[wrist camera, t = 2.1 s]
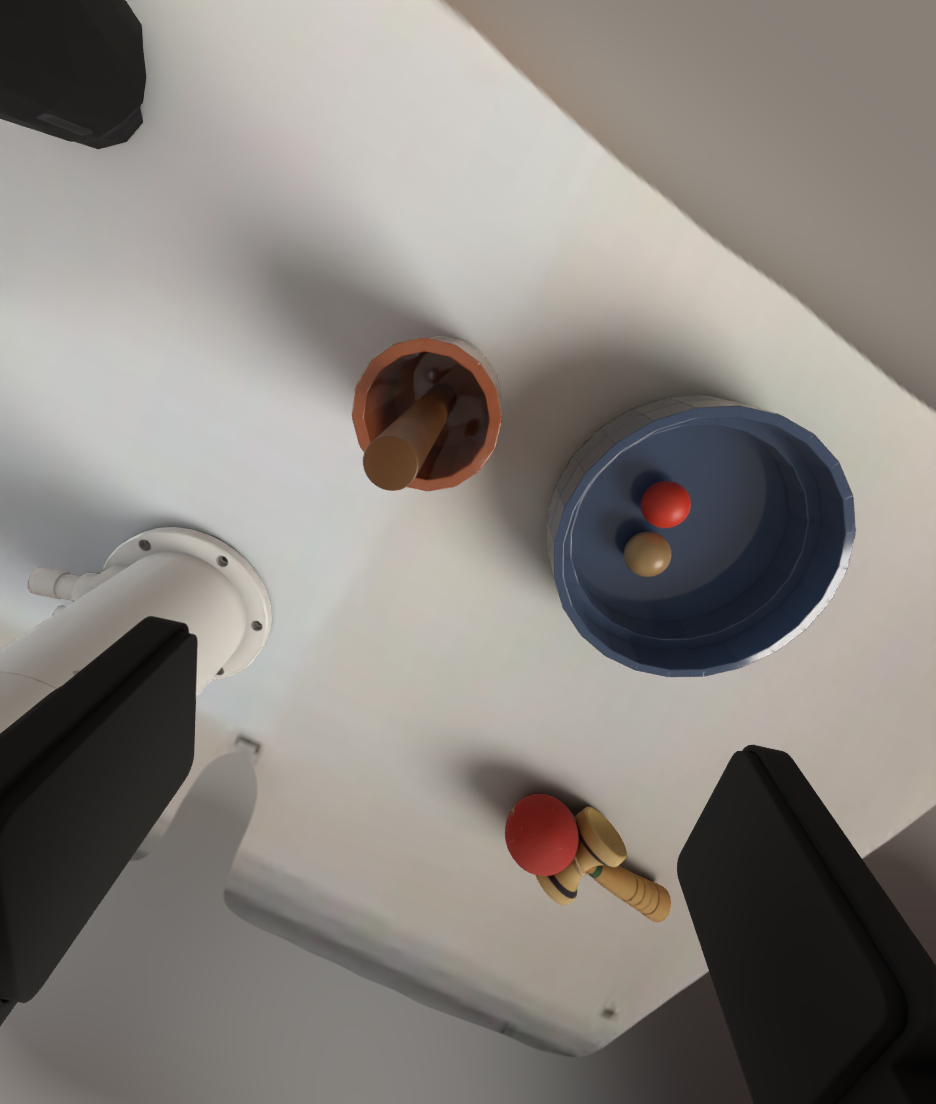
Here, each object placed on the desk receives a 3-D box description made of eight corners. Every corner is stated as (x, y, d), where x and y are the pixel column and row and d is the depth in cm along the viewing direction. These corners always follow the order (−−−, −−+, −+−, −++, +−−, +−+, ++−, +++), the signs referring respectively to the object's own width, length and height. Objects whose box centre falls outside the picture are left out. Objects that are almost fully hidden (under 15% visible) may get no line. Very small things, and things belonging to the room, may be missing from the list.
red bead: (629, 514, 36) (640, 529, 33) (644, 471, 35) (657, 483, 32) (672, 523, 36) (687, 539, 34) (688, 481, 35) (705, 494, 32)
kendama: (685, 848, 50) (549, 765, 44) (705, 926, 45) (555, 845, 39) (619, 874, 54) (485, 801, 48) (631, 949, 49) (482, 878, 42)
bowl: (519, 607, 40) (523, 647, 35) (586, 367, 33) (602, 374, 28) (742, 653, 41) (778, 700, 35) (851, 427, 34) (913, 444, 29)
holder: (379, 440, 36) (344, 473, 27) (396, 325, 33) (362, 323, 25) (485, 463, 36) (482, 503, 28) (511, 350, 33) (516, 357, 25)
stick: (425, 409, 34) (359, 484, 18) (430, 380, 34) (366, 430, 17) (453, 415, 34) (413, 496, 18) (459, 386, 34) (422, 442, 17)
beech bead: (613, 560, 38) (623, 579, 35) (627, 521, 36) (638, 536, 34) (655, 569, 38) (667, 588, 35) (670, 530, 37) (684, 546, 34)
